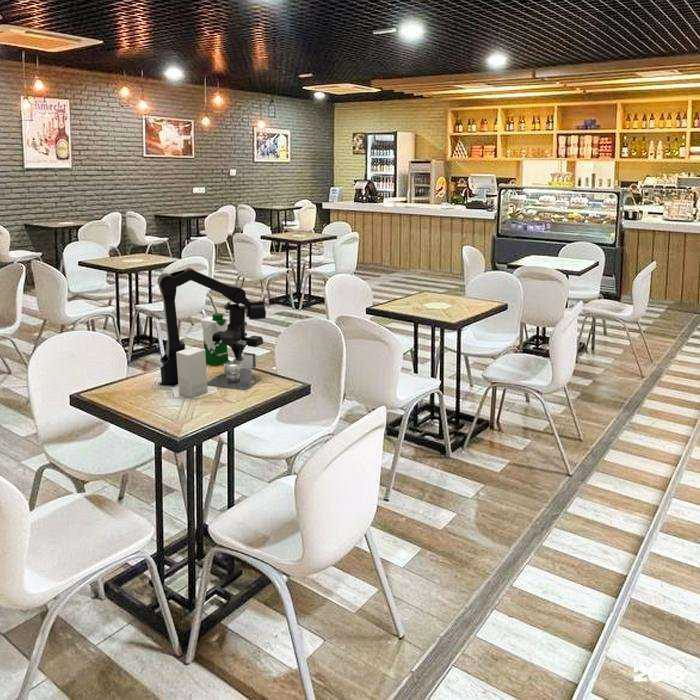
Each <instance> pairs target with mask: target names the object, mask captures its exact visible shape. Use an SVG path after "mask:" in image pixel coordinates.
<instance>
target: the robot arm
mask: <svg viewBox="0 0 700 700" xmlns="http://www.w3.org/2000/svg"><path fill="white" fill-rule="evenodd" d="M190 281H191V282H194V283H197V284H198V285H201V286H203V287H206V289H210V290H212V291H214V292H216V293H219V294H221V295H222V296H224V297H225V298H227V300H229V301H231V302H232V304H231V303H230V302H226V304H225V305H224V306H223V309H224V310H226V311H228V317H229V318H228V320H229V321H228V323H227V329H226V331H224V332H223V331H219V332H217V333H214V334H213V336H212V341H214V342H220V341H221V340H222V344H226V345H227V347H229V348H231V350H232V353H233V355H234V359H236V358H238V357H240V356H242V354H243V352H244V350H245V348H246V346H247V347H251V348H258V347H259V346H262V345H263V344H264V338H263V336H260V335H252V336H249V337H247V336H248V333H247V332H246V326H247V325H248V322H246V318H248V319H249V321H253V320H254V321H255V320H265V319H266V317H267V316H266V315H267V310H266V306H265V301H264V300H257V301H255V300H254V301H250V300H249V298H247V293H246V290H244V289H243V288H241V287H240V286H238V285H235V284H230V283H226V282H223V281H220V280H217V279H215V278H213V277H211V276H208V275H206V274H204V273H202V272H199V271H196V270H195V269H193V268H192V267H187V268H184V269H181V270H178V271H174V272H173V271H172V272H170V273H168V272H167V273H165V272H164V273H162V274H160V275H159V276H158V277H157V285H158V289H159V292H160V294H161V298H162V301H163V309H164V317H165V318H164V319H165V326H166V334H167V335H166V336H167V338H166V339H167V340H166V344H165V353H164V355H163V356H162V357H161V358H160V359H159V360H160V363H161V365H162V366H160V367H159V369H160V378H161V381H160V382H159V383H158V385H159V386H167V387H168V386H169V387H176V386H179V385H178V371H177V356H176V352H178V351H182V350H185V349H186V344H185V342H184V341H183V339H182V340H180V338H179V337H180V335H179V327H178V318H177V308H176V307H177V306H176V295H177V287H180V286H182V285H185V284H186V283H188V282H190ZM240 304H242V305H240Z"/></svg>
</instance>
